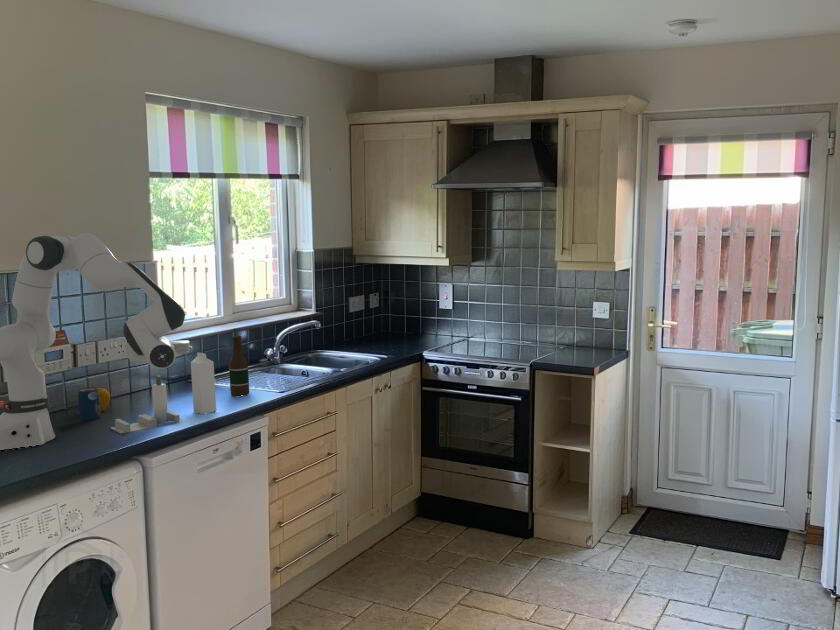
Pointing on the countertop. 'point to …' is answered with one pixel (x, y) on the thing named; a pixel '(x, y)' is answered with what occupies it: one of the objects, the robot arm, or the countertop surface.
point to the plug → (159, 401)
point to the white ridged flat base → (145, 423)
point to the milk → (203, 384)
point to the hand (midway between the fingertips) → (156, 345)
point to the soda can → (89, 404)
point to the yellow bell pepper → (103, 398)
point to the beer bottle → (238, 370)
